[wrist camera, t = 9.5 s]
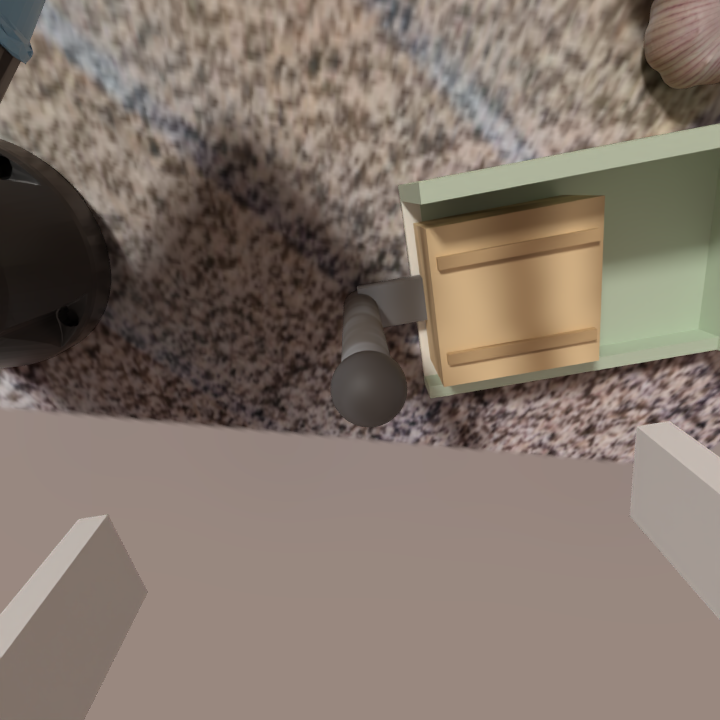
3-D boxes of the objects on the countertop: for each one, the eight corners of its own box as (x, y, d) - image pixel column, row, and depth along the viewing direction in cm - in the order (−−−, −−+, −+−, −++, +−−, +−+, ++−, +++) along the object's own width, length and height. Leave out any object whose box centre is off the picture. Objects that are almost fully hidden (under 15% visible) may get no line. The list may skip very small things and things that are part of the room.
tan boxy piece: (352, 375, 32) (354, 518, 18) (324, 240, 29) (299, 286, 14) (562, 338, 32) (736, 457, 17) (562, 194, 28) (783, 197, 14)
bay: (424, 384, 34) (449, 447, 25) (398, 185, 28) (418, 182, 20) (704, 336, 33) (825, 385, 24) (732, 120, 27) (902, 88, 19)
